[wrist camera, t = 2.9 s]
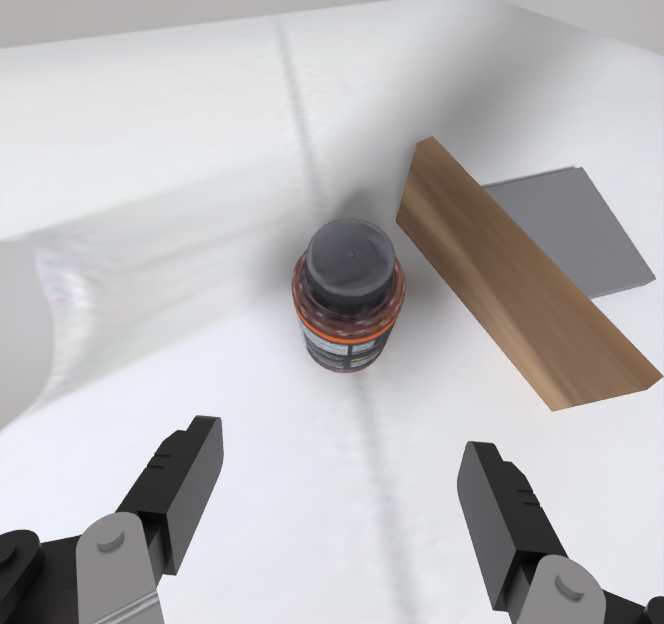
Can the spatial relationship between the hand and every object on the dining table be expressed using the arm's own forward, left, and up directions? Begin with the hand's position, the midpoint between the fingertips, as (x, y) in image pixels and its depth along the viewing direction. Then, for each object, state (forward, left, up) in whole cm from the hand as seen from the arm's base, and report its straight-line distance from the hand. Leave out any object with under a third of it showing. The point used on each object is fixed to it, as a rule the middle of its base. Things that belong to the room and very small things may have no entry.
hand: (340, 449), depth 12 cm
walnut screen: (-13, -8, -13) cm, 19 cm away
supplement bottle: (-3, -8, -13) cm, 15 cm away
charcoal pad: (-21, -11, -13) cm, 27 cm away
